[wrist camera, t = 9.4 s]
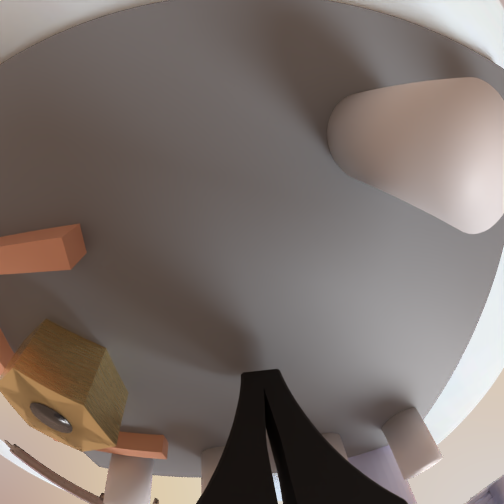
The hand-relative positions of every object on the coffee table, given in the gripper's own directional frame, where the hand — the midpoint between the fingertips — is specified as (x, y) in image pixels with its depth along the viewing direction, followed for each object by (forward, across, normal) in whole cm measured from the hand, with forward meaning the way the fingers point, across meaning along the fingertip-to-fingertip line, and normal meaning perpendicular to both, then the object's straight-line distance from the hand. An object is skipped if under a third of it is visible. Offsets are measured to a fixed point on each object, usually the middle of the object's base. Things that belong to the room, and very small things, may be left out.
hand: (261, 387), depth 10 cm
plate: (+2, 0, 0) cm, 2 cm away
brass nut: (+1, +8, 0) cm, 9 cm away
